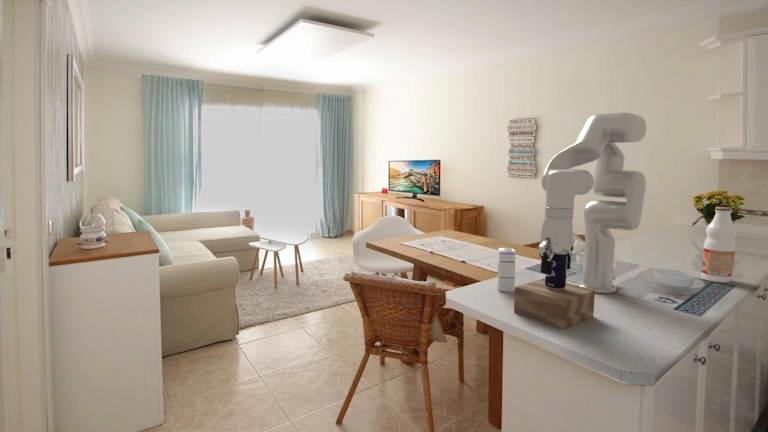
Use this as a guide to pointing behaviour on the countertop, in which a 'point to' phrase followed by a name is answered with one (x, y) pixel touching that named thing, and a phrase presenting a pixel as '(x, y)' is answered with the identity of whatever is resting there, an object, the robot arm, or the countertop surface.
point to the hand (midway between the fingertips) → (555, 271)
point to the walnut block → (554, 303)
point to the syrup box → (506, 269)
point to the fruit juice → (719, 247)
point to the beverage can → (557, 271)
